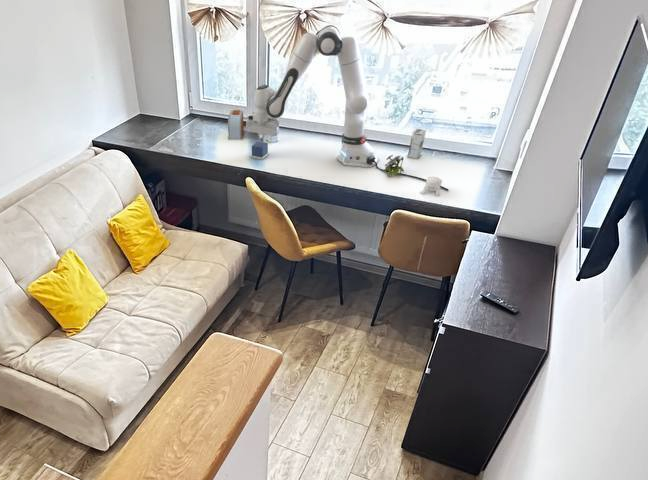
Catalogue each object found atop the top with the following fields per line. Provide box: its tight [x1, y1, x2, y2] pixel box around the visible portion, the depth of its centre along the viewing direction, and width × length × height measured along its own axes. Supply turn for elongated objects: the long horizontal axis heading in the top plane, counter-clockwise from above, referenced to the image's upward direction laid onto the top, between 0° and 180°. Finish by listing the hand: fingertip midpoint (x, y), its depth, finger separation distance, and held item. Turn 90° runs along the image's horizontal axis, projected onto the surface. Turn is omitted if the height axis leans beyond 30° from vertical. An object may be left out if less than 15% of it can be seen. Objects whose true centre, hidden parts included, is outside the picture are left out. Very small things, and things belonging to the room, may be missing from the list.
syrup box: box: [407, 128, 427, 160], centre depth 306 cm, size 6×6×14 cm
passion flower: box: [383, 154, 405, 177], centre depth 294 cm, size 11×11×12 cm
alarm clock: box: [227, 109, 245, 140], centre depth 344 cm, size 15×8×14 cm, turn 172°
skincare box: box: [261, 117, 279, 143], centre depth 338 cm, size 21×5×16 cm, turn 22°
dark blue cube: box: [251, 140, 269, 160], centre depth 320 cm, size 7×8×7 cm
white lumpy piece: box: [421, 176, 443, 196], centre depth 275 cm, size 9×8×15 cm
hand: (262, 140), depth 315 cm, fingers closed
